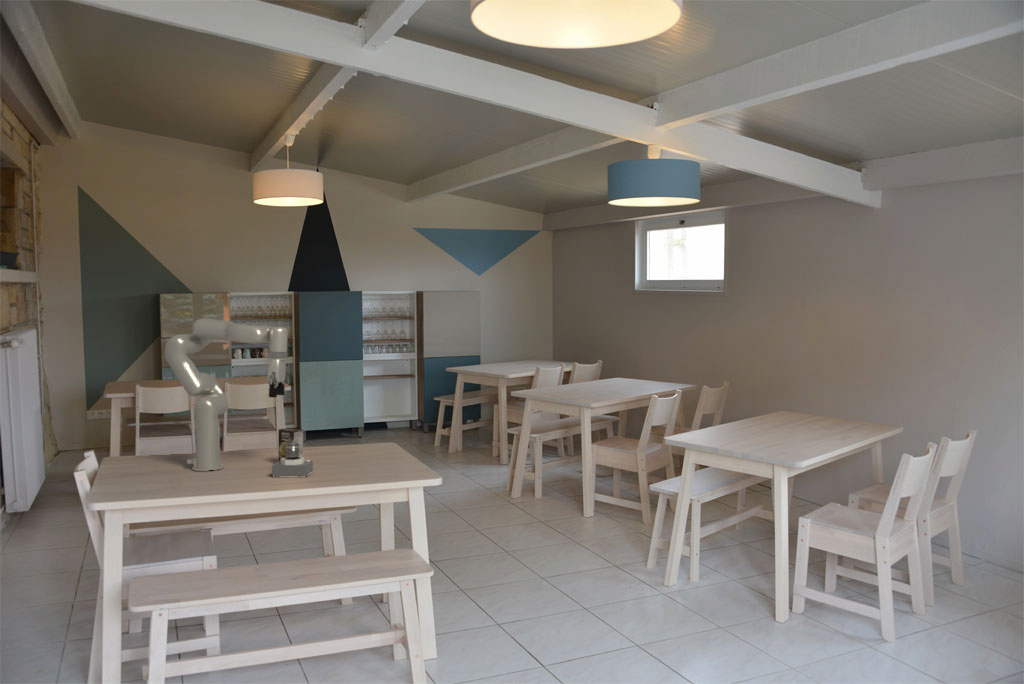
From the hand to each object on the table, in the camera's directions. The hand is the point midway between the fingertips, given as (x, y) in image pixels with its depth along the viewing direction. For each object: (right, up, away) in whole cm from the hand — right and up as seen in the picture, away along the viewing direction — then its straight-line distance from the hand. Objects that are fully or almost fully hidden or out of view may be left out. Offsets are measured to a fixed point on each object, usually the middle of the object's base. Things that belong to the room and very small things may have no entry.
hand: (276, 396), depth 323 cm
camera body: (+9, -32, -8) cm, 34 cm away
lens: (+9, -27, -8) cm, 30 cm away
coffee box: (+2, -32, +13) cm, 34 cm away
